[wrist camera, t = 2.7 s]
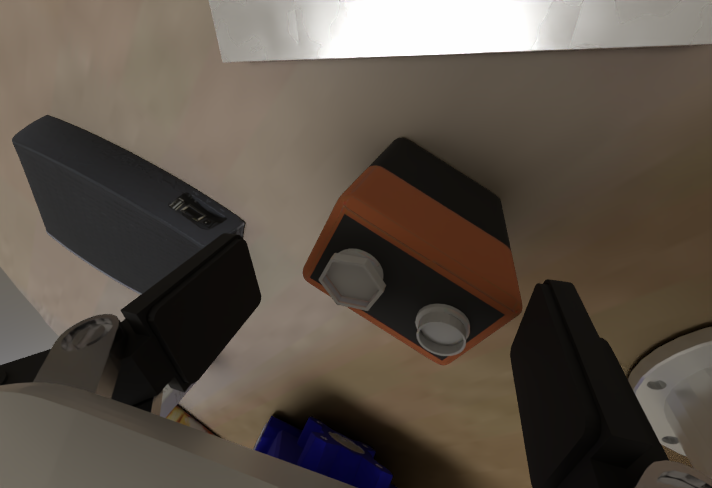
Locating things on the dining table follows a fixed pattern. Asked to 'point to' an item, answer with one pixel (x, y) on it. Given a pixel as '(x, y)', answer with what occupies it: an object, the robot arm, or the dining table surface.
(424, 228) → the battery
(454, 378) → the dining table surface
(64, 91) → the dining table surface
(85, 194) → the external hard drive
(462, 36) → the plate
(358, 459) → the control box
